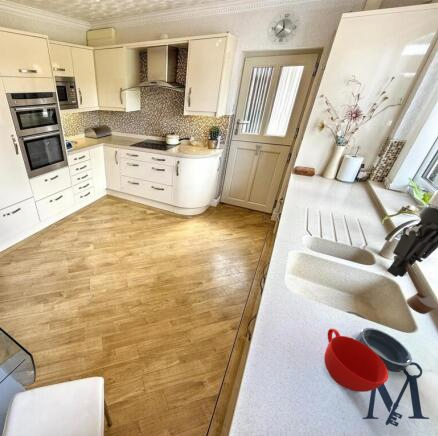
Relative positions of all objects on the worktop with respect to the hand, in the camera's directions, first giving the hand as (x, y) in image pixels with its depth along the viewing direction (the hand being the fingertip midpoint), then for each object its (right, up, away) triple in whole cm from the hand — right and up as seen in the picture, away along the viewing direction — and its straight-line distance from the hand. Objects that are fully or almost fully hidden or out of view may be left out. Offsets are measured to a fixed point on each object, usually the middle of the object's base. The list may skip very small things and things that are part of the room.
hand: (394, 273), depth 74 cm
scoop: (0, -4, -2) cm, 5 cm away
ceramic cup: (-21, -29, -3) cm, 36 cm away
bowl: (-3, -27, +2) cm, 27 cm away
